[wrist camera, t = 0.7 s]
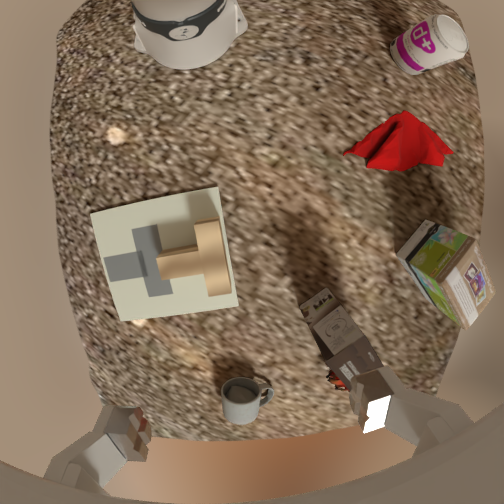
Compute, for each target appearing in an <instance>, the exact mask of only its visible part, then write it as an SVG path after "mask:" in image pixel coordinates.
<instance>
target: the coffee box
mask: <svg viewBox="0 0 504 504" xmlns="http://www.w3.org/2000/svg"><path fill="white" fill-rule="evenodd" d="M299 308H300V310H301V312H302V314H303V316H304V318H305V320H306V322H307V324H308V326H309V328H310V330H311V332H312V334H313V337H314V339H315V341H316V343H317V345H318V347H319V349H320V351H321V353H322V355H323V357H324V359H325V362H326V364H327V365H328V366H329V367H330V368H331V370H332V371H333V372H334V373H335V374H336V376H337V377H338V378H339V379H340V380H341V381H342V382H343V384H344V385H345V386H346V387H347V388H348V390H349V391H351V390H352V389H353V388H352V386H351V384H350V383H351V378H352V376H355V375H359V374H362V373H365V372H369V371H372V370H375V369H378V368H381V367H384V366H383V364H382V362H381V361H380V359H379V357H378V356H377V354H376V352H375V351H374V349H373V347H372V346H371V344H370V342H369V341H368V339H367V338H366V336H365V335H364V334H363V333H362V331H361V330H360V329H359V327H358V326H357V325H356V323H355V322H354V321H353V320H352V318H351V317H350V316H349V314H348V313H347V312H346V310H345V309H344V308H343V307H342V305H341V304H340V303H339V302H338V300H337V299H336V298H335V297H334V295H333V294H332V293H331V291H330V290H329V289H328V288H325V289H323V290H322V291H321V292H319V293H318V294H316V295H315V296H313V297H312V298H311V299H309V300H308V301H306V302H305V303H303V304H302V305H300V307H299Z"/></svg>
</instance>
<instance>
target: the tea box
mask: <svg viewBox="0 0 504 504" xmlns="http://www.w3.org/2000/svg"><path fill="white" fill-rule="evenodd" d="M396 256H397V257H398V259H399V260H400V262H401V263H402V265H403V266H404V267H405V269H406V270H407V272H408V273H409V275H410V276H411V277H412V279H413V280H414V282H415V283H416V285H417V286H418V287H419V289H420V291H421V292H422V294H423V295H424V296H425V298H426V299H427V300H428V301H429V302H431V303H432V304H433V305H434V306H435V307H437V308H438V309H439V310H441V311H442V312H443V313H444V314H446V315H447V316H448V317H449V318H450V319H452V320H453V321H454V322H455V323H457V324H458V325H459V326H460V327H462V328H463V329H464V330H467V329H468V328H469V327H470V325H471V324H472V323H473V322H474V321H475V319H476V318H477V317H478V316H479V314H480V313H481V312H482V310H483V309H484V308H485V306H486V305H487V304H488V302H489V301H490V300H491V298H492V297H493V296H494V294H495V293H496V291H495V288H494V285H493V282H492V279H491V276H490V274H489V271H488V268H487V266H486V263H485V260H484V258H483V255H482V253H481V250H480V248H479V245H478V243H477V241H476V239H474V238H472V237H470V236H467V235H465V234H462V233H460V232H458V231H455V230H453V229H450V228H448V227H445V226H442V225H439V224H436V223H434V222H432V221H429V220H425V221H424V222H423V223H422V224H421V225H420V227H419V228H418V229H417V230H416V231H415V233H414V234H413V235H412V236H411V237H410V238H409V240H408V241H407V242H406V243H405V244H404V245H403V247H402V248H401V249H400V250H399V251H398V252H397V253H396Z"/></svg>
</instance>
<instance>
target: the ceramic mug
mask: <svg viewBox="0 0 504 504" xmlns="http://www.w3.org/2000/svg"><path fill="white" fill-rule="evenodd" d="M262 389H269V390H268V394H267V396H266V397H265V398H264V399H262V400H260V398H261V390H262ZM273 395H274V389H273V388H272V387H271V386H270V385H269V384H266V383H263V384H258V383H257V382H256V381H255V380H253V379H250V378H246V377H235V378H231V379H229V380H227V381H226V382H225V383H224V384H223V386H222V388H221V396H222V406H223V413H224V416H225V418H226V419H227V420H228V421H229V422H231V423H232V424H235V425H247V424H249V423H251V422H253V421H254V420H255V419H256V417H257V415H258V412H259V407H261V406H264V405H265V404H267V403H268V402H269V401H270V400H271V399H272V397H273Z"/></svg>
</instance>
